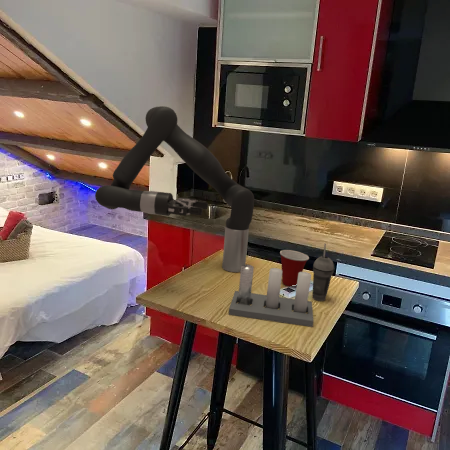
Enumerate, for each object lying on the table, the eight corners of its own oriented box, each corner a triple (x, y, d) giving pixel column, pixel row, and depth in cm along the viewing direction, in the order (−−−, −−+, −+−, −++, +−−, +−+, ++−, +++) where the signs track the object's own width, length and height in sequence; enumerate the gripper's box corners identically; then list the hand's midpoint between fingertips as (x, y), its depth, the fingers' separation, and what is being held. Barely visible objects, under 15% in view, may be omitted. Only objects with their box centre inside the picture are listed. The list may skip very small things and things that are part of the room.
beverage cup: (314, 303, 148) (322, 248, 142) (304, 294, 154) (312, 241, 149) (333, 302, 150) (341, 248, 144) (323, 293, 156) (331, 241, 151)
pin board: (234, 296, 148) (238, 257, 144) (311, 307, 145) (316, 268, 141) (228, 314, 135) (232, 272, 131) (312, 326, 131) (318, 284, 128)
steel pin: (238, 303, 143) (242, 263, 139) (250, 304, 142) (254, 265, 139) (236, 308, 139) (240, 268, 135) (248, 310, 139) (253, 269, 135)
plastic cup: (310, 288, 160) (315, 258, 157) (285, 290, 156) (289, 259, 153) (295, 277, 170) (299, 248, 166) (271, 279, 166) (274, 249, 162)
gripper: (150, 196, 134) (201, 201, 132) (163, 188, 148) (210, 193, 146) (149, 219, 136) (199, 225, 134) (162, 209, 150) (208, 214, 148)
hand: (204, 208), depth 140 cm, fingers open, 8 cm apart
